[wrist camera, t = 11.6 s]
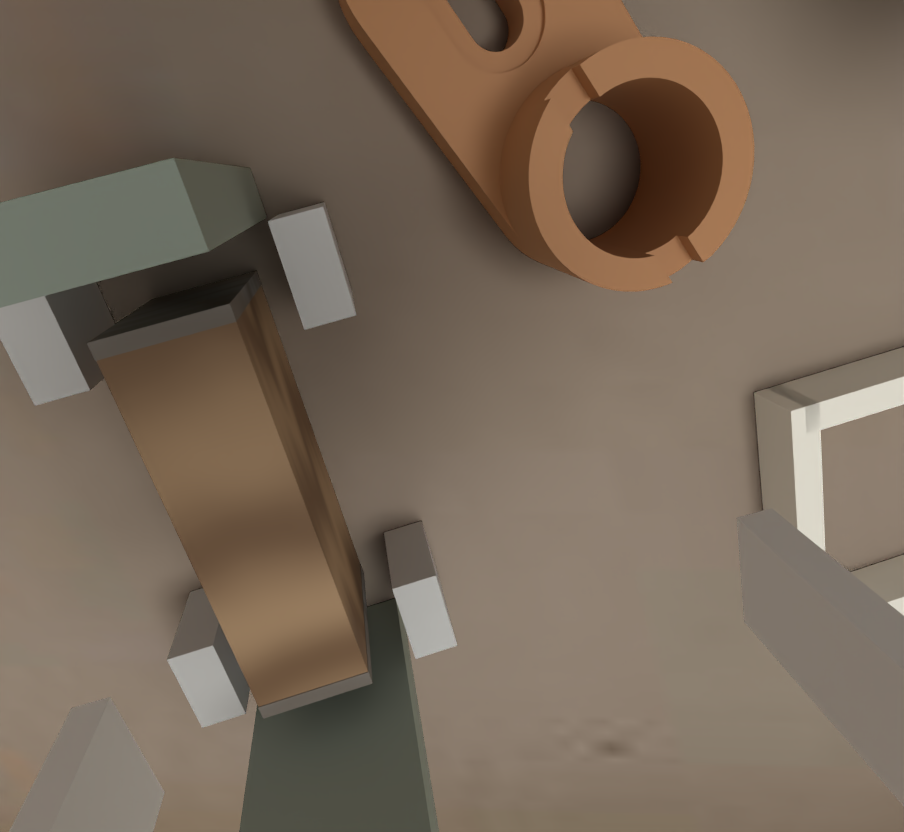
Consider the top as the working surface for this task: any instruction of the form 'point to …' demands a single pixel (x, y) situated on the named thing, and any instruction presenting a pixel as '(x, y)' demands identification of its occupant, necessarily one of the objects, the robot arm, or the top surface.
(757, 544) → the robot arm
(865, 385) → the frame
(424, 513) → the top surface
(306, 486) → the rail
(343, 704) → the green fixture with posts
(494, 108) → the bracket
